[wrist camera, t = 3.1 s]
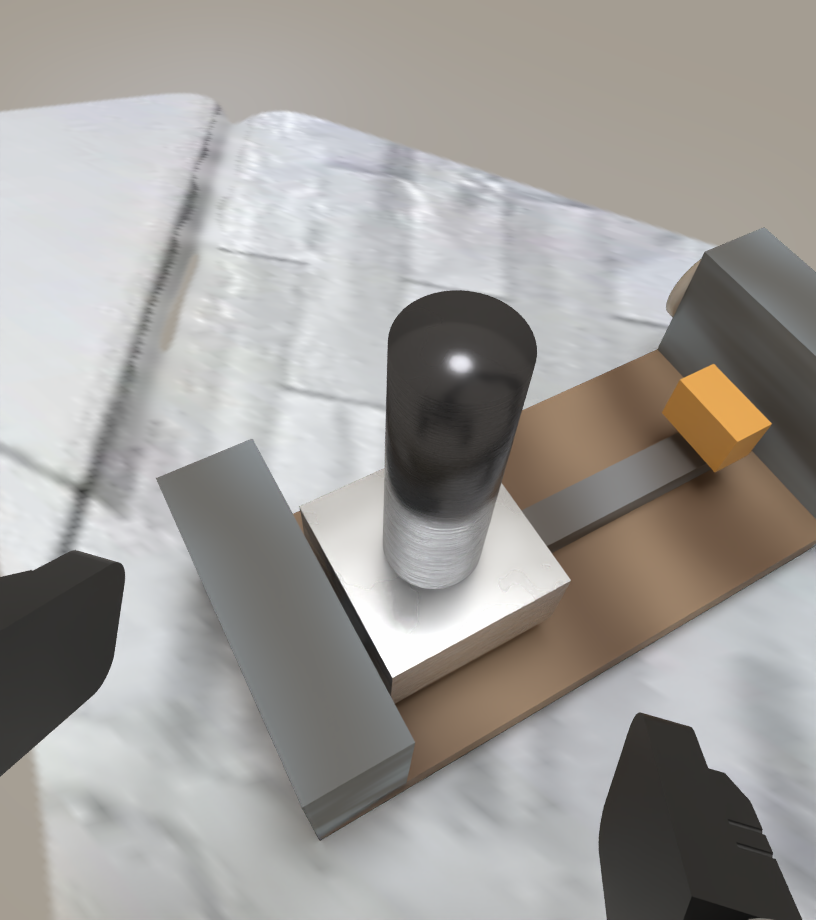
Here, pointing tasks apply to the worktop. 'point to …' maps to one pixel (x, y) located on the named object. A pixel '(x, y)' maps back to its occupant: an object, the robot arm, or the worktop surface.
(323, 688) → the rail base
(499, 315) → the carriage
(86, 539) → the worktop surface
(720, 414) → the orange block
